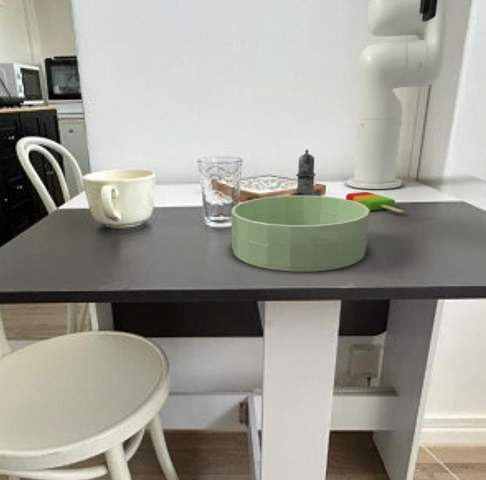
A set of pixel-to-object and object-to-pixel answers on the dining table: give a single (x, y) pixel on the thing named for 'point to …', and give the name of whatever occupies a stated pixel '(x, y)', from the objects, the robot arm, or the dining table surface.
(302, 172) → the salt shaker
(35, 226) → the dining table surface
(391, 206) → the popsicle
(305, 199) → the bowl
